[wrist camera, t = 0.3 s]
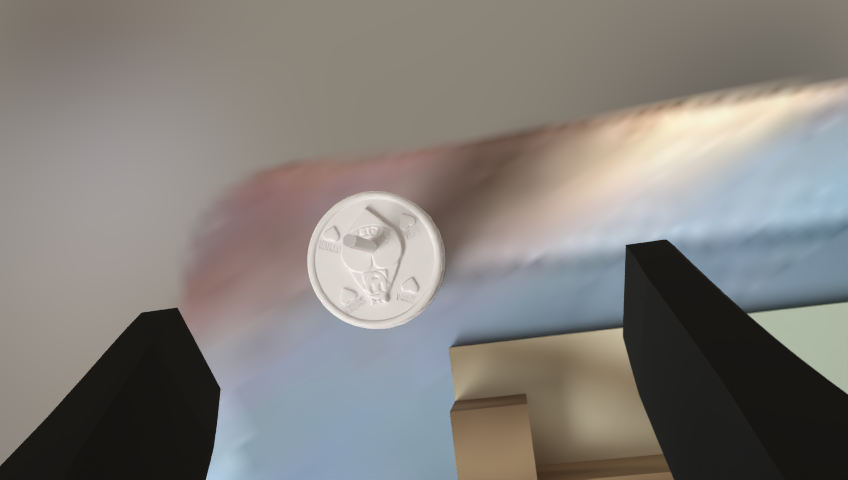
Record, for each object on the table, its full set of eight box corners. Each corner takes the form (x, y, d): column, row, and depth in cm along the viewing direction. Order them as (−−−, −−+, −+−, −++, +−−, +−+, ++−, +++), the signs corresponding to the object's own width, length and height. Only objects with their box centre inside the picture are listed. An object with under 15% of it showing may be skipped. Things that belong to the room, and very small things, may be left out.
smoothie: (450, 204, 40) (418, 160, 27) (468, 311, 40) (444, 323, 26) (346, 222, 41) (262, 188, 27) (362, 328, 40) (284, 348, 27)
